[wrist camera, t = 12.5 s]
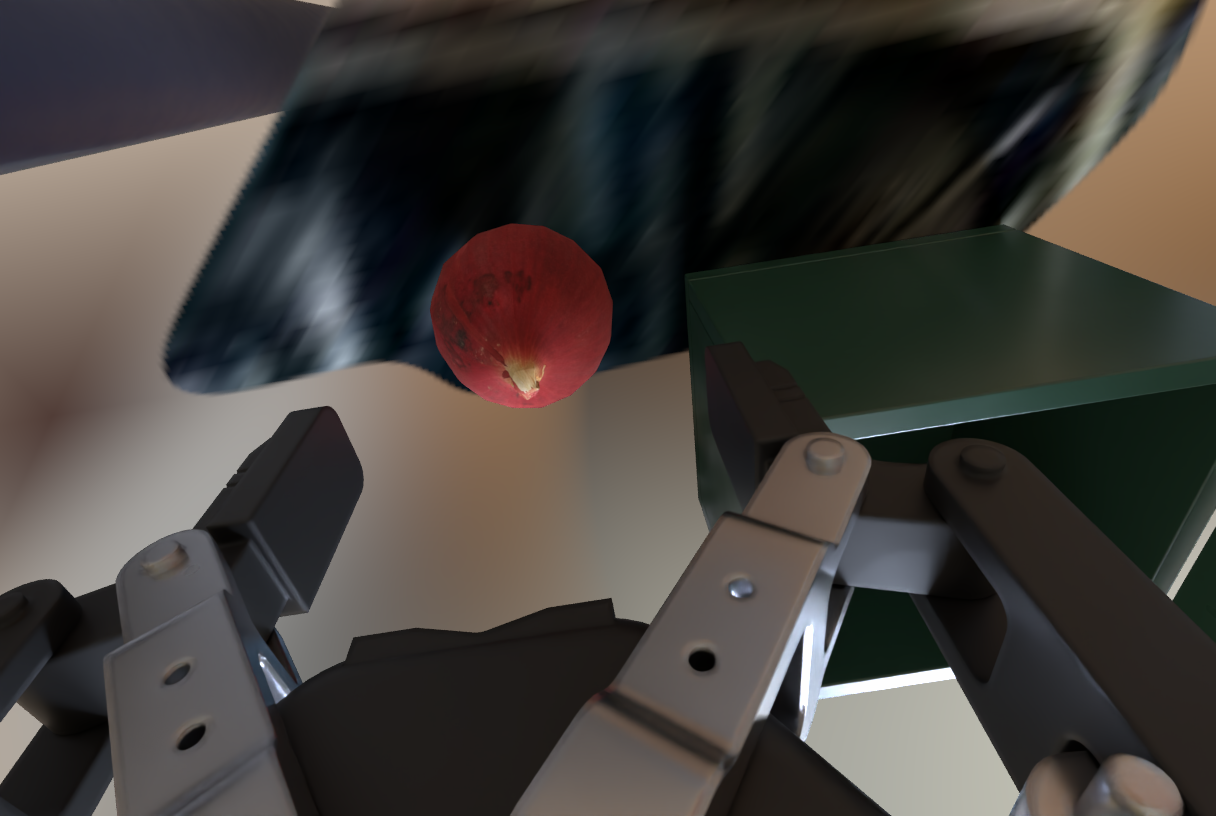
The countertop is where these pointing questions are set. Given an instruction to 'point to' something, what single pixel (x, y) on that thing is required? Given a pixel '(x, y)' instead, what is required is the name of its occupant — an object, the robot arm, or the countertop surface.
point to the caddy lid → (1201, 590)
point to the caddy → (979, 392)
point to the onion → (522, 315)
